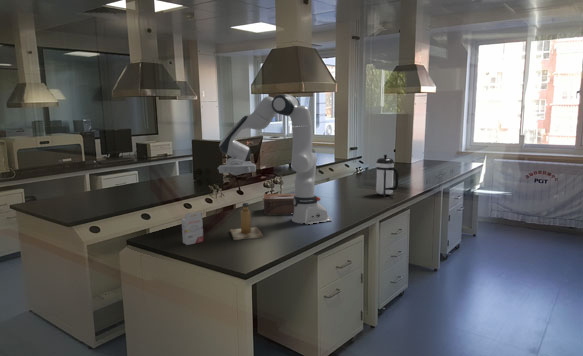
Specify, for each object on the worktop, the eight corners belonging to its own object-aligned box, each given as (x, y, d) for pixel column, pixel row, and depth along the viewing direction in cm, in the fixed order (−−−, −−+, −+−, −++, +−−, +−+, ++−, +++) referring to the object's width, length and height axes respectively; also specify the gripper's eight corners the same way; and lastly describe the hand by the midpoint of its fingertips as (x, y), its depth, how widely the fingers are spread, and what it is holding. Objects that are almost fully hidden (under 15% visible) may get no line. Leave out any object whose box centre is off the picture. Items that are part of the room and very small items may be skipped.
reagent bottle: (249, 230, 203) (249, 202, 201) (251, 233, 199) (251, 204, 197) (240, 231, 202) (239, 202, 200) (241, 233, 198) (241, 204, 195)
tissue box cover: (264, 215, 240) (263, 198, 239) (264, 209, 254) (264, 194, 253) (307, 214, 242) (307, 198, 240) (304, 208, 256) (304, 193, 254)
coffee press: (372, 196, 291) (373, 155, 286) (374, 192, 306) (376, 153, 301) (397, 197, 286) (399, 156, 281) (398, 193, 301) (399, 153, 296)
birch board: (257, 229, 209) (257, 227, 209) (262, 237, 196) (262, 234, 196) (230, 231, 206) (230, 229, 205) (233, 239, 192) (233, 237, 192)
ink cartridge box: (199, 239, 194) (198, 209, 191) (203, 241, 190) (202, 211, 187) (182, 242, 189) (180, 212, 186) (186, 245, 185) (184, 214, 182)
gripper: (216, 162, 223) (219, 165, 210) (253, 161, 229) (257, 163, 215) (217, 173, 224) (219, 177, 211) (253, 172, 230) (257, 175, 216)
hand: (239, 170), depth 213 cm, fingers open, 8 cm apart
